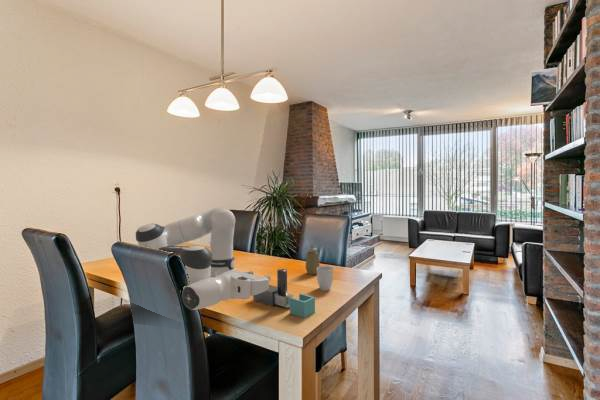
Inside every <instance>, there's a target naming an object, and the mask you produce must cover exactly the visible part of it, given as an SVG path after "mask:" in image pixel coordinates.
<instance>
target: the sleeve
mask: <svg viewBox="0 0 600 400" xmlns="http://www.w3.org/2000/svg"><path fill="white" fill-rule="evenodd" d="M275 292H278V289H277V286H275V285H273V284H269V288H268V290H266V291H264V292H262V293H260V294H257V295H253V297H252V299H253V301H255V302H258V303H261V304H263V305H267V306H270V307H274V306H276V305H277V304H274V303H273V293H275ZM277 306H278V305H277Z"/></svg>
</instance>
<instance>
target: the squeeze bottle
mask: <svg viewBox="0 0 600 400" xmlns="http://www.w3.org/2000/svg"><path fill="white" fill-rule="evenodd" d="M317 251H318V249H317V248H316V247H315V243H314V241H311V243H310V247H308V250H307V252H306V256H305V258H306V259H305V270H306V272H307V274H308V275H310V276H314V275H315V276H316V275H317V267H320V266H321V265H320V257H319V252H317Z"/></svg>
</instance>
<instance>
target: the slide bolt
mask: <svg viewBox="0 0 600 400" xmlns="http://www.w3.org/2000/svg"><path fill="white" fill-rule="evenodd" d="M276 271H277V272H276V275H277V277H276V279H277V282H276V283H277V286H276V287H277V289H278V292H275V293H273V303H274V304H277V306H281V307H284V308H285V309H286V308H287V309H288V308H290V298H294V294H292V293H288V270H287V268H279V269H277V270H276Z"/></svg>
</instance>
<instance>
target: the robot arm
mask: <svg viewBox="0 0 600 400" xmlns="http://www.w3.org/2000/svg"><path fill="white" fill-rule="evenodd" d="M235 226H236V217H235V214H234V213H233V212H232V211H231V210H230V209H227V208H224V207H219V206H218V207H213V208H211V209H209V210H208V209H207V210H205V211H202V212H200V213H198V214H196V215H193V216H190V217H186V218H183V219H179V220H177V221H173V222H171V223H168V224H166V225H164V226H161V225H160V224H157V223H148V224H144V225H142V226H140V227H138V228H137V230H136V232H135V240H136V242H137V246H138V245H139V246H144V247H149V248H154V249H159V250H163V251H167V252H173V253H177V254H178V255H179V256H180V257H181V258H182V260H183V262H184V264H185V268H186V269H185V270H186V274H188V276H187V277H189V278H188V281H190V282H188V284H190V285H187V286H184V287H183V291H182V295H181V300H182V303H183V304H184V306H185V307H186V308H187V309H188V310H192V311H195V310H201V309H205V308H209V307H212V306H215V305H217V304H219V303H220V302H224V301H226V302H227V301H229V300H237V299H238V300H249V299H251V297H252V296H253V295H257V294H260V293H262V292H264V291H266V290H268V288H269V285H270V281H271V279H272V277H271V276H270V275H265V276H263V277H262V276H259V275H256V274H254V271H252V270H248V271H240V270H236V269H235V257H234V236H235ZM209 234H211V235H210V241H209V249H208V247H206V246H202V245H194V246H186V245H185V246H183V245H182V244H186V243H188V242H191V241H195V240H198V239H201V238H203V237H205V236H206V235H209ZM139 246H138V247H139Z"/></svg>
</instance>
